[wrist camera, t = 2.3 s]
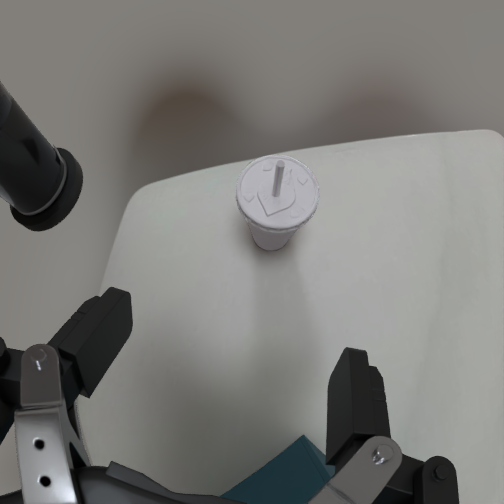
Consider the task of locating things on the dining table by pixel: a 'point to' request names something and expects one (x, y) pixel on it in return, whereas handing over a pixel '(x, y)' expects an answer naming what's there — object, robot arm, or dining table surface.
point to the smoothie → (276, 198)
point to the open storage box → (286, 477)
